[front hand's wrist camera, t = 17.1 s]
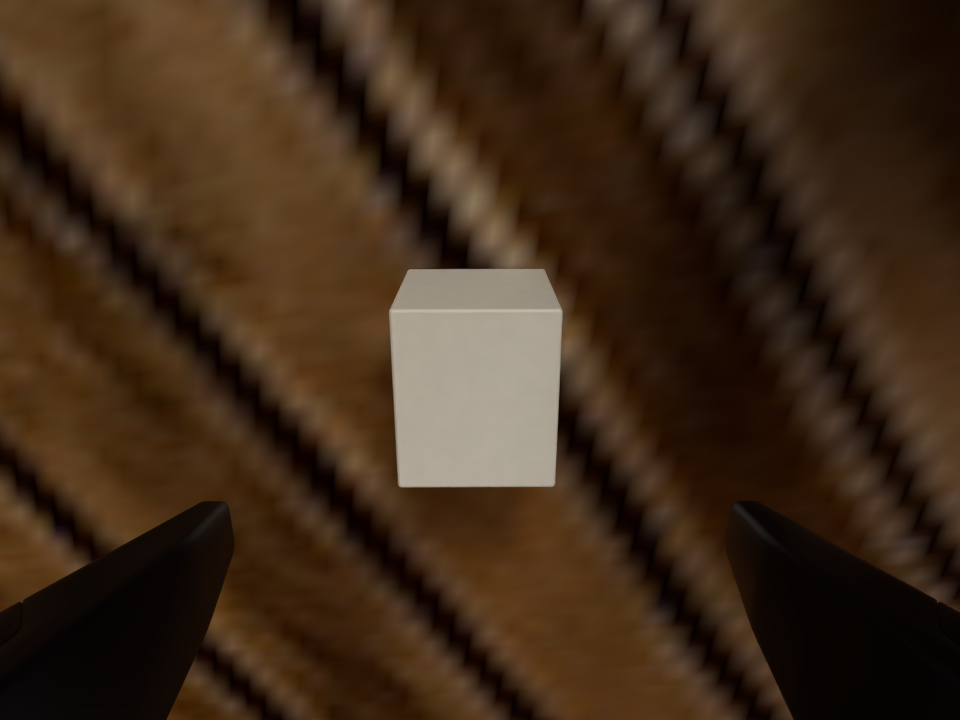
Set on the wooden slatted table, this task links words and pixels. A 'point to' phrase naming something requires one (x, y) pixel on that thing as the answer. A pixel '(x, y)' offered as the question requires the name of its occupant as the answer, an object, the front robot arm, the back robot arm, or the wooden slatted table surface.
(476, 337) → the block
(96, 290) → the wooden slatted table surface
